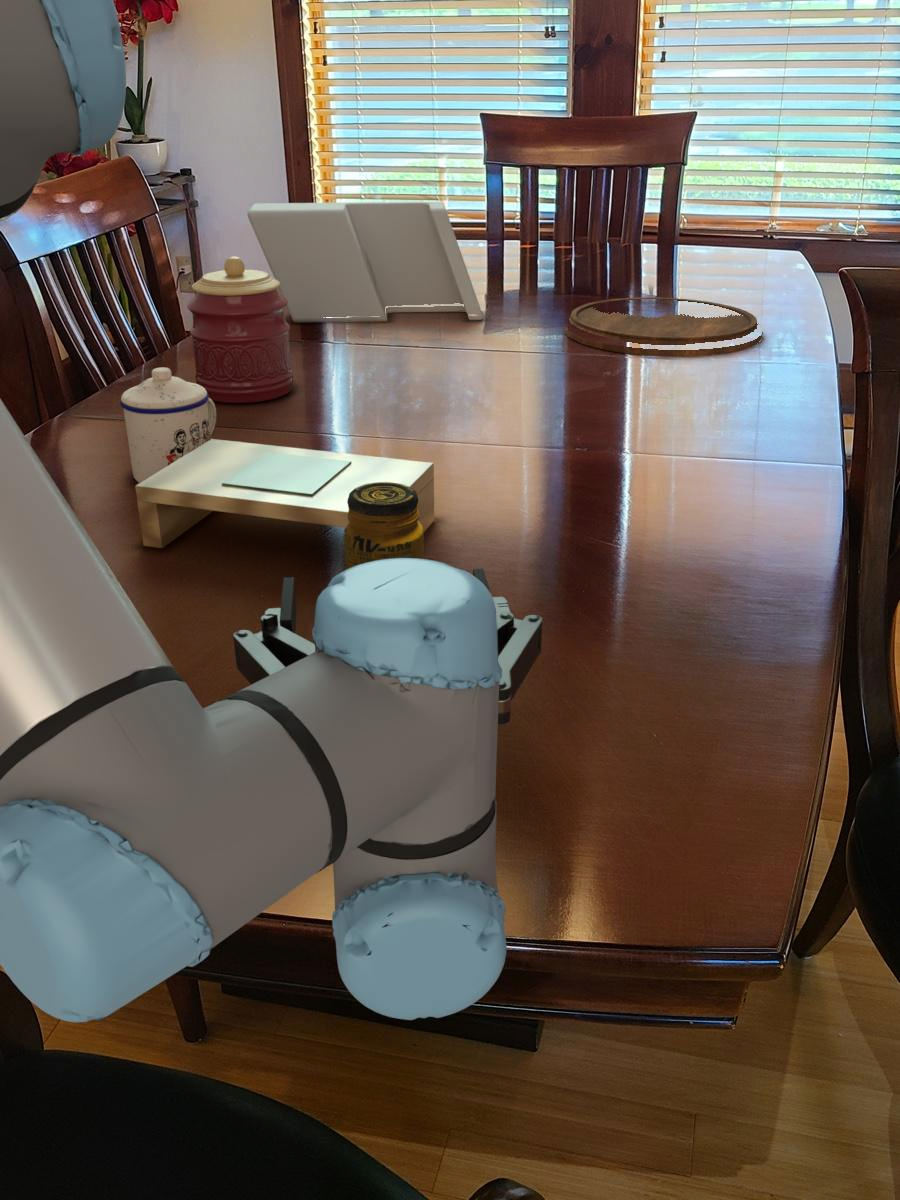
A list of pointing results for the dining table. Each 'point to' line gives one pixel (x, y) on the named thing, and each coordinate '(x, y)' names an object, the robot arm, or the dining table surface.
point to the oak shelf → (268, 486)
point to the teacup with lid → (165, 421)
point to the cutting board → (662, 329)
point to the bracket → (363, 259)
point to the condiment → (382, 524)
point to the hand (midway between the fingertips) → (384, 589)
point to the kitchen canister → (240, 335)
